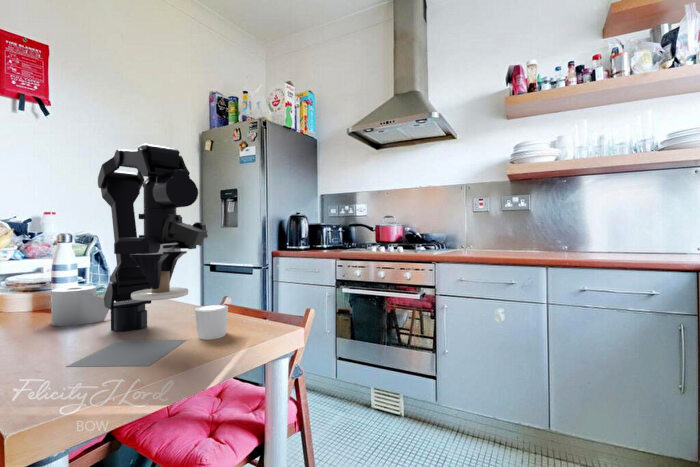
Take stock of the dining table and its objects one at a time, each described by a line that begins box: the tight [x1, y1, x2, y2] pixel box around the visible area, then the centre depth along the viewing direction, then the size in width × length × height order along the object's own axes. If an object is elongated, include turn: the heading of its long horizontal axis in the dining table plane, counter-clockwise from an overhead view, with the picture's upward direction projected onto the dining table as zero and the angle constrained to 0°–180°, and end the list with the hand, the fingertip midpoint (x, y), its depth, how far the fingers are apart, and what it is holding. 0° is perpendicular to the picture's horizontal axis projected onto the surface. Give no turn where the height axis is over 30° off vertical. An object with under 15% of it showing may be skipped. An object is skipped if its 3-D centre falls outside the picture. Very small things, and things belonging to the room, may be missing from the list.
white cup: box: [194, 304, 229, 341], centre depth 75 cm, size 7×7×7 cm
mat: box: [65, 339, 187, 368], centre depth 65 cm, size 14×14×1 cm
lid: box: [131, 271, 189, 302], centre depth 68 cm, size 10×10×5 cm
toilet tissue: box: [50, 285, 110, 327], centre depth 91 cm, size 9×13×9 cm
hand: (160, 287), depth 68 cm, fingers closed on lid, 3 cm apart
